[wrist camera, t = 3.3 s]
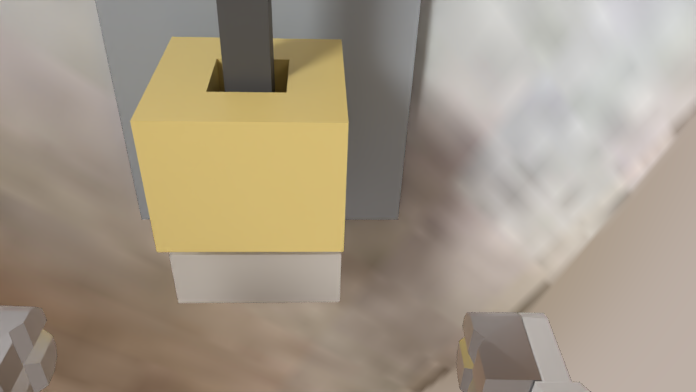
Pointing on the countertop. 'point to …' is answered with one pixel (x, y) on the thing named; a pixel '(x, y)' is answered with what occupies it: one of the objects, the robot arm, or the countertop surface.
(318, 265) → the grey slider rail toy
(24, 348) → the robot arm
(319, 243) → the sleeve
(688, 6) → the countertop surface
